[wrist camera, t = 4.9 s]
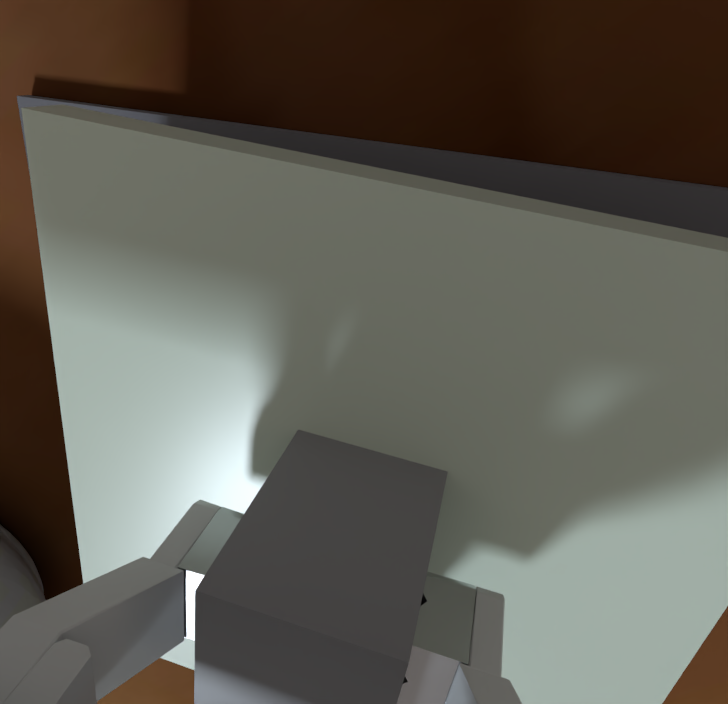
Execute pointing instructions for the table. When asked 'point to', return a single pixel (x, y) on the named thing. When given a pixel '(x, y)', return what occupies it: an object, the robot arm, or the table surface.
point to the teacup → (17, 578)
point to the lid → (385, 409)
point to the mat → (474, 170)
